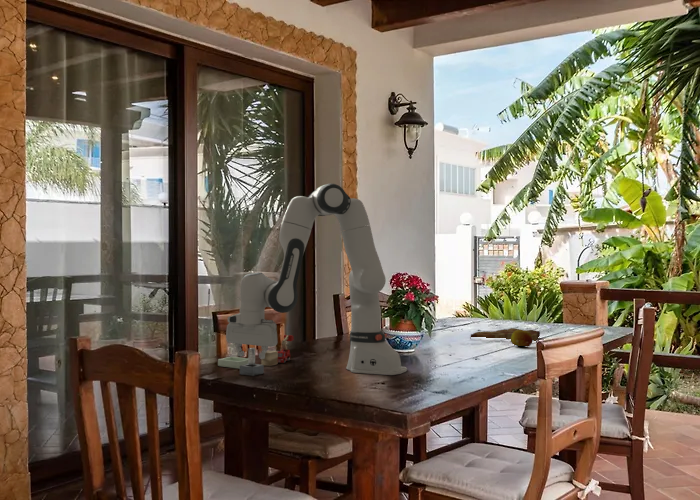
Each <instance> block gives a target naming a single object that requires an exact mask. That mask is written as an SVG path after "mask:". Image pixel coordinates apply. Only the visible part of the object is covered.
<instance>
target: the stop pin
mask: <svg viewBox="0 0 700 500" xmlns="http://www.w3.org/2000/svg"><path fill="white" fill-rule="evenodd" d="M247 358H248V366H255V364H256V347H249V348H248V355H247Z"/></svg>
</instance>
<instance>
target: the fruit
mask: <svg viewBox="0 0 700 500" xmlns="http://www.w3.org/2000/svg"><path fill="white" fill-rule="evenodd" d="M521 330H522V329H521ZM521 330H516V331H514V332H513V334H512V336H511V342H510V343H512V345H513V344H514V346H515V345H518V346H529V347H530V346H531V345H532V344H533V343H532V336H531V334H530V332H528V331H521Z"/></svg>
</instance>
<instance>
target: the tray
mask: <svg viewBox="0 0 700 500" xmlns="http://www.w3.org/2000/svg"><path fill="white" fill-rule="evenodd" d="M245 364H248V357H247V358H246V357H241V356H238V357H237V356H228V357H224V358H218V359H217V366H218V367H223V368H231V369H239V370H240V366H241V365H245Z"/></svg>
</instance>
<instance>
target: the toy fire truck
mask: <svg viewBox="0 0 700 500" xmlns="http://www.w3.org/2000/svg"><path fill="white" fill-rule="evenodd" d="M294 340H295V339H294V335H292V334H291V335H289V334H288V335H287V334H283V340H282V341H281V346H282V349H281V350H277V351H278V363H283V364H285V363H286V362H289V361H290V360H291V352H290V351H291V350H290V349H288V344H287V342H293V341H294Z"/></svg>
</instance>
